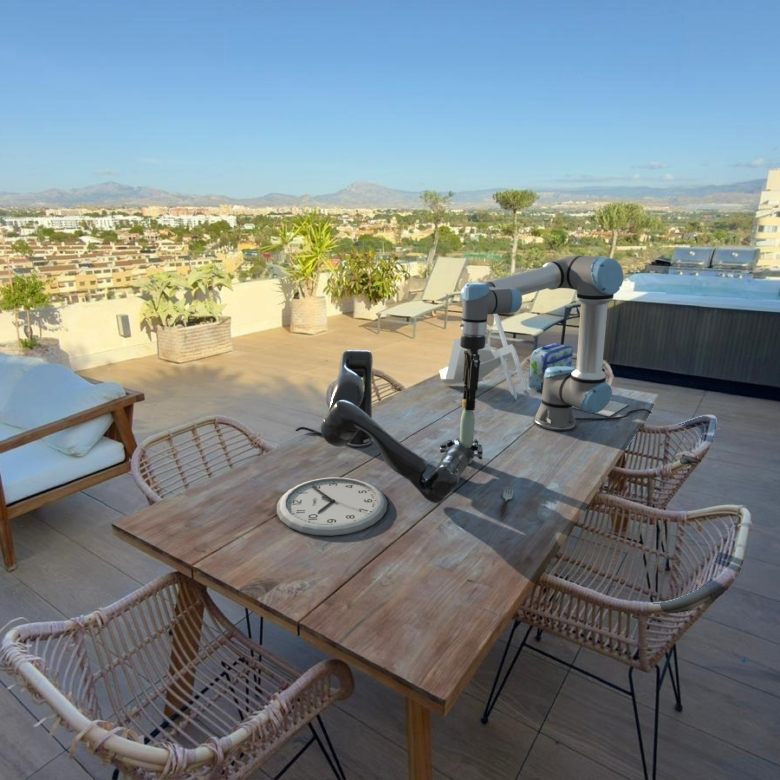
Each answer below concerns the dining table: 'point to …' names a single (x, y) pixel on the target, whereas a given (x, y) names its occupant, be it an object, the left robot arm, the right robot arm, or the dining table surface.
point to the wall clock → (331, 506)
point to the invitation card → (611, 408)
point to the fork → (506, 497)
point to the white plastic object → (485, 362)
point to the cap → (464, 403)
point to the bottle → (467, 428)
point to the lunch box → (547, 362)
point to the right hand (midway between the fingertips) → (468, 407)
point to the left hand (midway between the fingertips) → (468, 440)
